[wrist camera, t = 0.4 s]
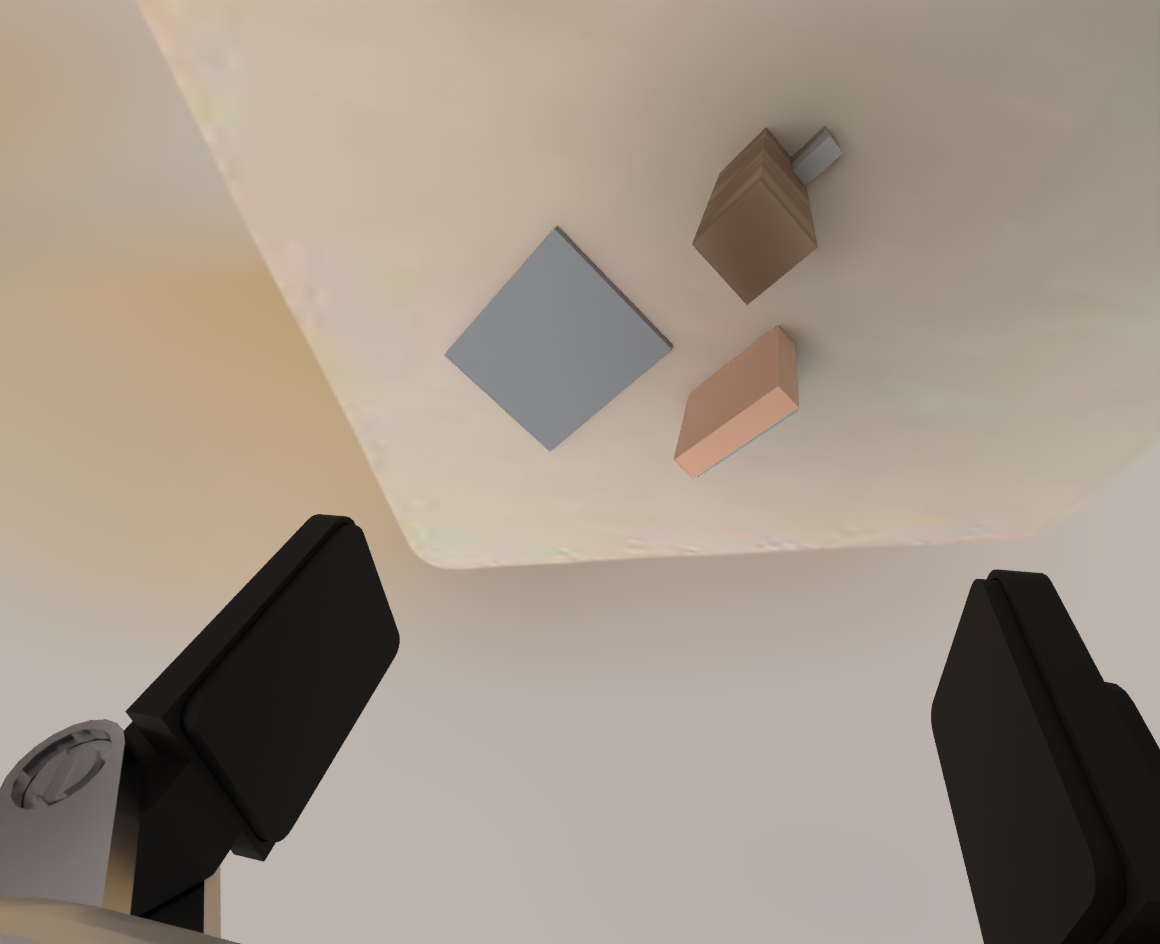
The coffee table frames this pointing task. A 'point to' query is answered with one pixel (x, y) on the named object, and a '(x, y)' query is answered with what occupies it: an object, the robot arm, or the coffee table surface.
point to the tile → (739, 403)
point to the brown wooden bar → (763, 212)
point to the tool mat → (557, 342)
